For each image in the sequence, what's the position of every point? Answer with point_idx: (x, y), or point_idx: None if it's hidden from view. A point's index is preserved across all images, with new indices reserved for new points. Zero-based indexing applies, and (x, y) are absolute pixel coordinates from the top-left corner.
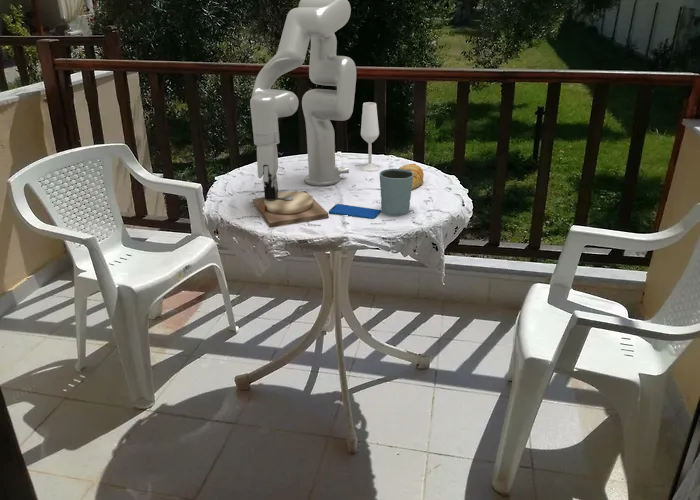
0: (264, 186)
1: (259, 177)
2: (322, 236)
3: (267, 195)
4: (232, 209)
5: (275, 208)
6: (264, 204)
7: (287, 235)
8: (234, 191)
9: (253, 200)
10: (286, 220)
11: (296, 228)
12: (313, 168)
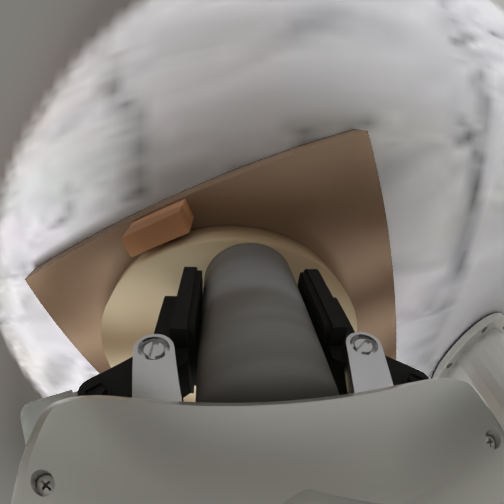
0: (135, 346)
1: (51, 408)
2: (46, 392)
3: (164, 303)
4: (264, 21)
5: (104, 314)
6: (186, 239)
7: (12, 323)
8: (489, 62)
9: (340, 139)
10: (66, 335)
11: (60, 348)
12: (486, 378)
